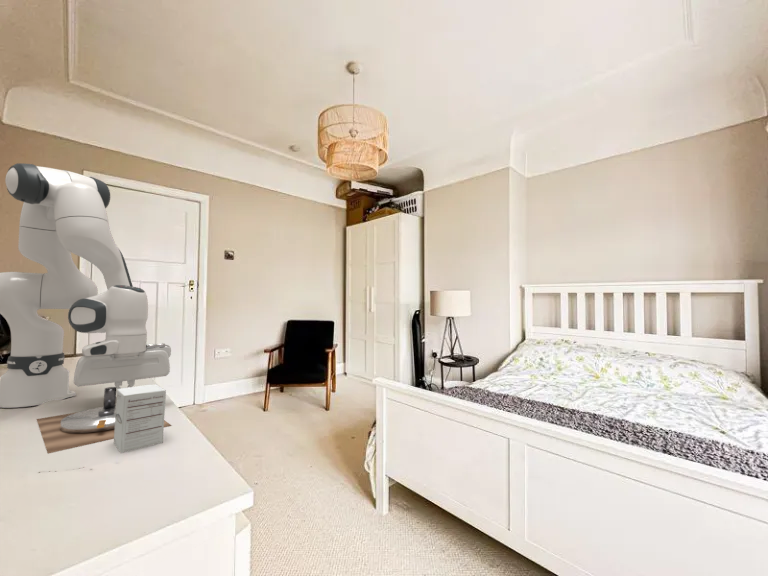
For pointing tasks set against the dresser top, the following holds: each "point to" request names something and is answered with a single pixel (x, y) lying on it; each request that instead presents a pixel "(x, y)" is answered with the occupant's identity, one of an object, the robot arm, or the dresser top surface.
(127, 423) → the supplement box
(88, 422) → the dial
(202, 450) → the dresser top surface
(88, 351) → the robot arm
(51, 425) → the base board
